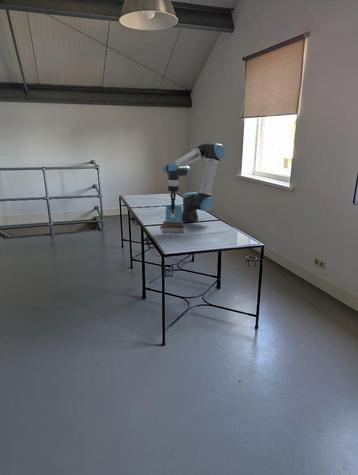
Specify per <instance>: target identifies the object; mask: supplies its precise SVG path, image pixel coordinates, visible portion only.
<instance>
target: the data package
mask: <svg viewBox="0 0 358 475" xmlns="http://www.w3.org/2000/svg"><path fill="white" fill-rule="evenodd" d="M170 208H171V204H170V205H169V204H167V205H166V207H165V220H164V221H166V222H174V223H180V222H183V221H182V212H183V205H177V204H176V205H175V207H174V208H175V215H174V218H171V209H170Z"/></svg>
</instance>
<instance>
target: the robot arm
mask: <svg viewBox="0 0 358 475" xmlns="http://www.w3.org/2000/svg"><path fill="white" fill-rule="evenodd" d="M225 155H226V149H225V147H224V145H223V144H221V143H210V142H207V143H206V142H205V143H201V144H200V145H198V146H195V147H194V148H193V149H192V150H191V151H190V152H188V153H185V155H183V156H181V157H180V158H178V159H176V160H174V161H172V163H165V164H164V165H163V167H162V172H163V173H164V174H166V175H168V176H167V179H168V180H167V183H168V186H167V190H168V191H167V192H170V195H169V196H170V203H171V204H170V205H171V208H170V209H171V218H174V215H175V208H174V207H175V204H176V202H175V201H176V197H177V196H176V195H177V193H176V192H178V191H179V185H180V183H179V182H180V181H179V180H180V179H179V178H180V177H188V176H190V174H191V172H192V169H191V167H190V166H189V165H190V164H191V163H193V162H195V161H196V160H200V159H205V160H206V165H205V170H204V172H203V177H202V181H201V185H200V190H199V191H198V192H194V191H193V192H185V193H183V195H182V221H181V222H187V223H188V222H189V223H190V222H191V223H193V222H197V221H199V215H198V212H197V211H202V212H208V211H210V210H211V209H212V208H213V206H214V199H213V195H212V190H213V185H214V181H215V176H216V172H217V166H218V164H220V163H221V160H223V159H224V157H225Z"/></svg>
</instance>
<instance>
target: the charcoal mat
mask: <svg viewBox="0 0 358 475" xmlns="http://www.w3.org/2000/svg"><path fill="white" fill-rule="evenodd" d="M161 233H162V234H184V227H183V228H162V229H161Z"/></svg>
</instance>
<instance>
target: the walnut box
mask: <svg viewBox="0 0 358 475" xmlns="http://www.w3.org/2000/svg"><path fill="white" fill-rule="evenodd" d="M161 227H162V228H183V229H184V221H181V222H180V223H174V222H166V221H165V220H162V226H161Z"/></svg>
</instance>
